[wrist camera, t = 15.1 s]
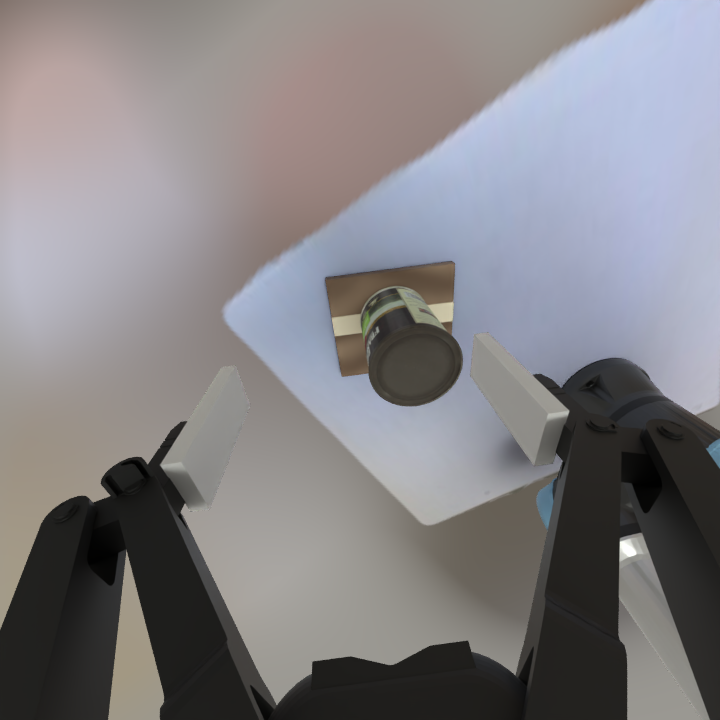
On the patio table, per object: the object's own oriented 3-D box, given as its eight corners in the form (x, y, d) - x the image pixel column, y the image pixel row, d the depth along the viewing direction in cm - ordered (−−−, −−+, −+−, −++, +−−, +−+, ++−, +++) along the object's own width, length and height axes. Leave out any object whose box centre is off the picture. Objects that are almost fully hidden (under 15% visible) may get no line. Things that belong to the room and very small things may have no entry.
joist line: (452, 320, 46) (452, 321, 45) (334, 335, 46) (334, 336, 45) (453, 301, 44) (453, 302, 44) (331, 317, 44) (331, 318, 44)
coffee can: (358, 350, 47) (366, 408, 35) (360, 285, 42) (371, 326, 30) (423, 350, 48) (453, 406, 35) (433, 285, 42) (472, 325, 30)
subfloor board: (447, 358, 51) (450, 362, 49) (341, 371, 51) (341, 376, 49) (451, 261, 43) (455, 263, 41) (325, 277, 43) (325, 280, 41)
